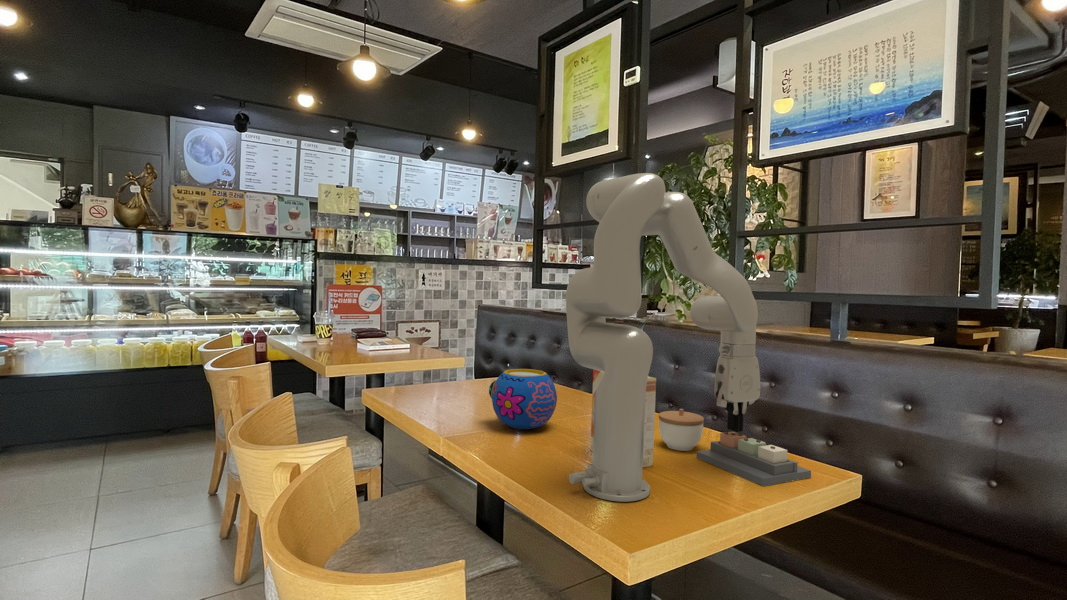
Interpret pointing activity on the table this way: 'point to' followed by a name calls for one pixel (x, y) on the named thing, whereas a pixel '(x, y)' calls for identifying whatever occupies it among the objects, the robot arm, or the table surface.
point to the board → (752, 465)
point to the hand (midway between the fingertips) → (735, 430)
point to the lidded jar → (680, 429)
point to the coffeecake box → (648, 416)
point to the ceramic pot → (523, 398)
